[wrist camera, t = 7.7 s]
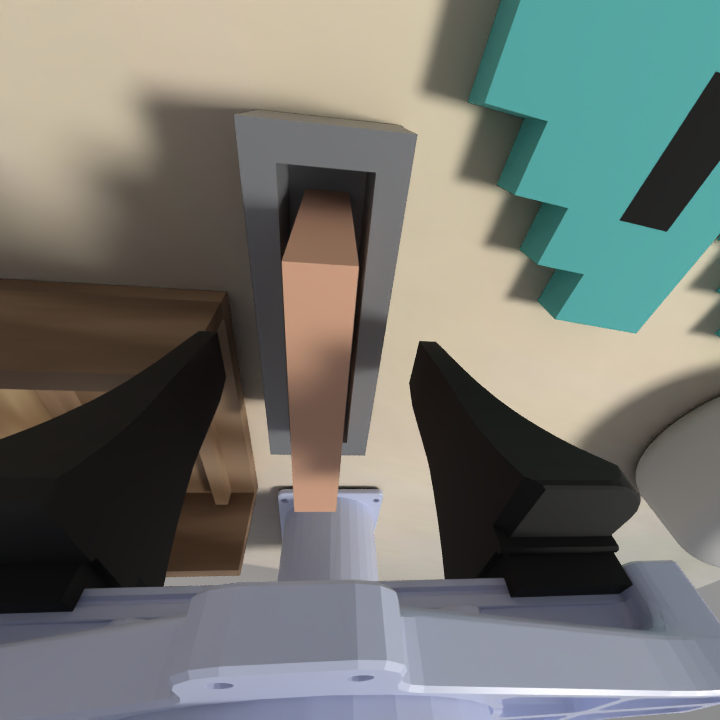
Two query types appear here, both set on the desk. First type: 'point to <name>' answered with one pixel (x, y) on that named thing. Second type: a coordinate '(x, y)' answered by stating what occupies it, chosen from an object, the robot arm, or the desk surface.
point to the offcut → (20, 411)
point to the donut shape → (687, 481)
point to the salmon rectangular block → (319, 341)
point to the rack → (119, 364)
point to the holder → (275, 223)
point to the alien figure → (610, 145)
